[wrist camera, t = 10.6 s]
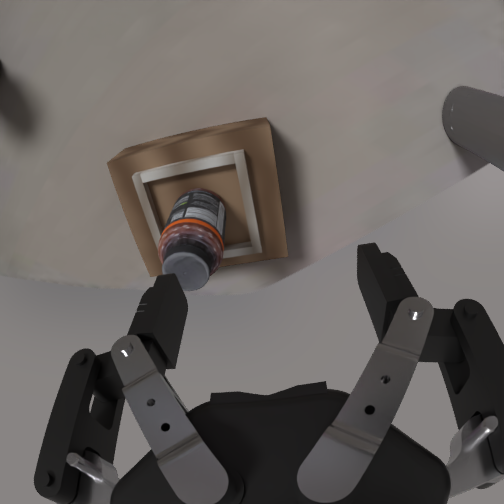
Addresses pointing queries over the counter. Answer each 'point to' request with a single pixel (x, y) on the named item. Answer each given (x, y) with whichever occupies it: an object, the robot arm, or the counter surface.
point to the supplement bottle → (193, 238)
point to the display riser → (207, 177)
